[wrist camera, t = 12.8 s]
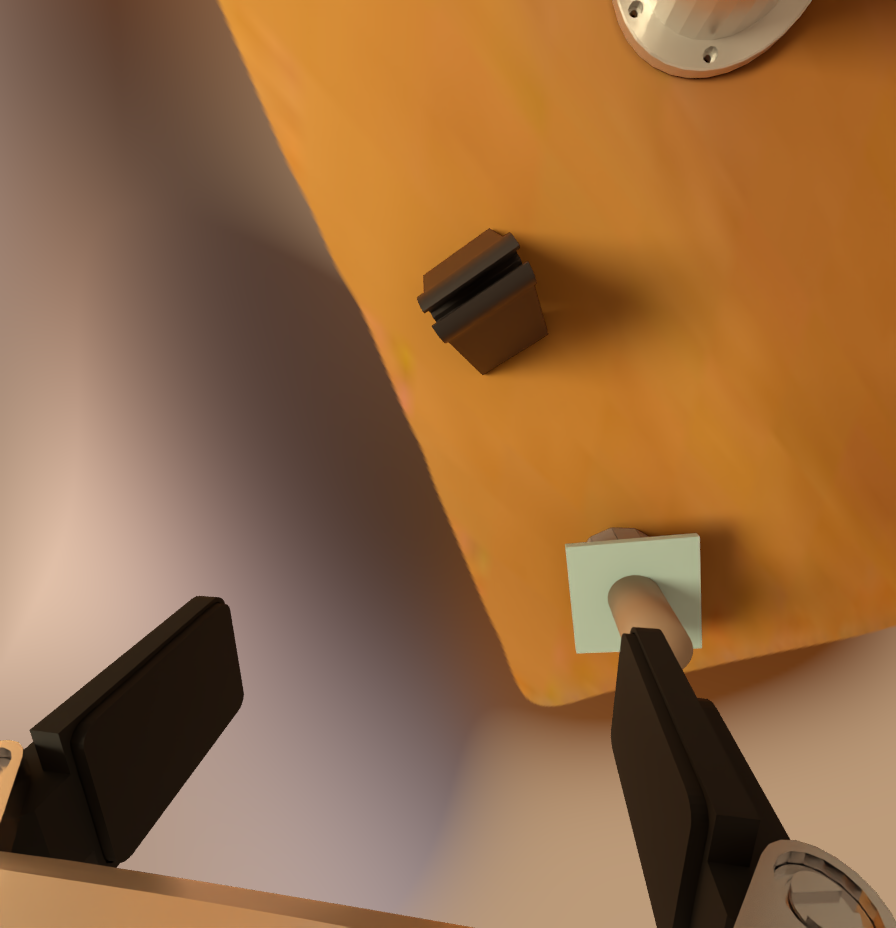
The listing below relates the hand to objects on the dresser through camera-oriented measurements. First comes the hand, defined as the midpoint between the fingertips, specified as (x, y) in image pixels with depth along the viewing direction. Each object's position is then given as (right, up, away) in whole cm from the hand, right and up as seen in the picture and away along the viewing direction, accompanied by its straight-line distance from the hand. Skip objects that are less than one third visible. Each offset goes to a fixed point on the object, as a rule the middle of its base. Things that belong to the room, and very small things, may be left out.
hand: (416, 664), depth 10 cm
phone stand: (+4, +17, +25) cm, 30 cm away
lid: (+15, -6, +24) cm, 29 cm away
